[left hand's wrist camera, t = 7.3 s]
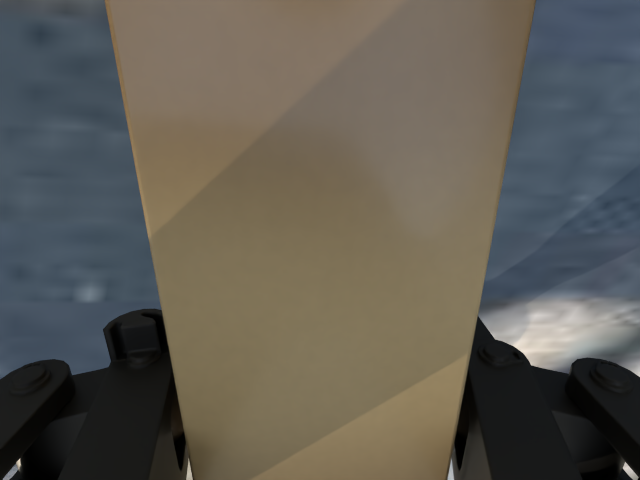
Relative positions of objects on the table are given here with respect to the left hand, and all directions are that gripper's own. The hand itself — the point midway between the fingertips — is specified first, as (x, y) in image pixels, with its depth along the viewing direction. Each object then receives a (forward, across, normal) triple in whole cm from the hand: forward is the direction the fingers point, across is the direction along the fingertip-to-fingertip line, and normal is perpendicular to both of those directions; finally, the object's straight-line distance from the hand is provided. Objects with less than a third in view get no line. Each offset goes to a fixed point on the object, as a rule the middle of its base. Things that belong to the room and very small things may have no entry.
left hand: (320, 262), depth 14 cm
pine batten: (0, 0, +6) cm, 7 cm away
